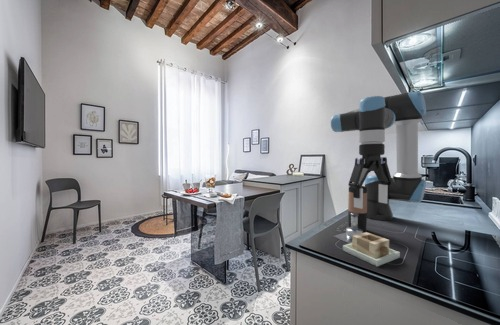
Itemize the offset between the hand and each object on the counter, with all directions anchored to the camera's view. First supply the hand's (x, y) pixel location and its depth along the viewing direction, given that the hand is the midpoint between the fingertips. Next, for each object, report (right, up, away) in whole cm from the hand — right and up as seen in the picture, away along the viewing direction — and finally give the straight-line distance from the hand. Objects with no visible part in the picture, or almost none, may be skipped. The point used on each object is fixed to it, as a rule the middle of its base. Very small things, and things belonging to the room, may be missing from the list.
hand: (371, 205), depth 72 cm
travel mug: (+8, -16, +24) cm, 30 cm away
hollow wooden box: (0, -16, 0) cm, 16 cm away
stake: (+1, -17, +13) cm, 21 cm away
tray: (0, -17, 0) cm, 17 cm away
